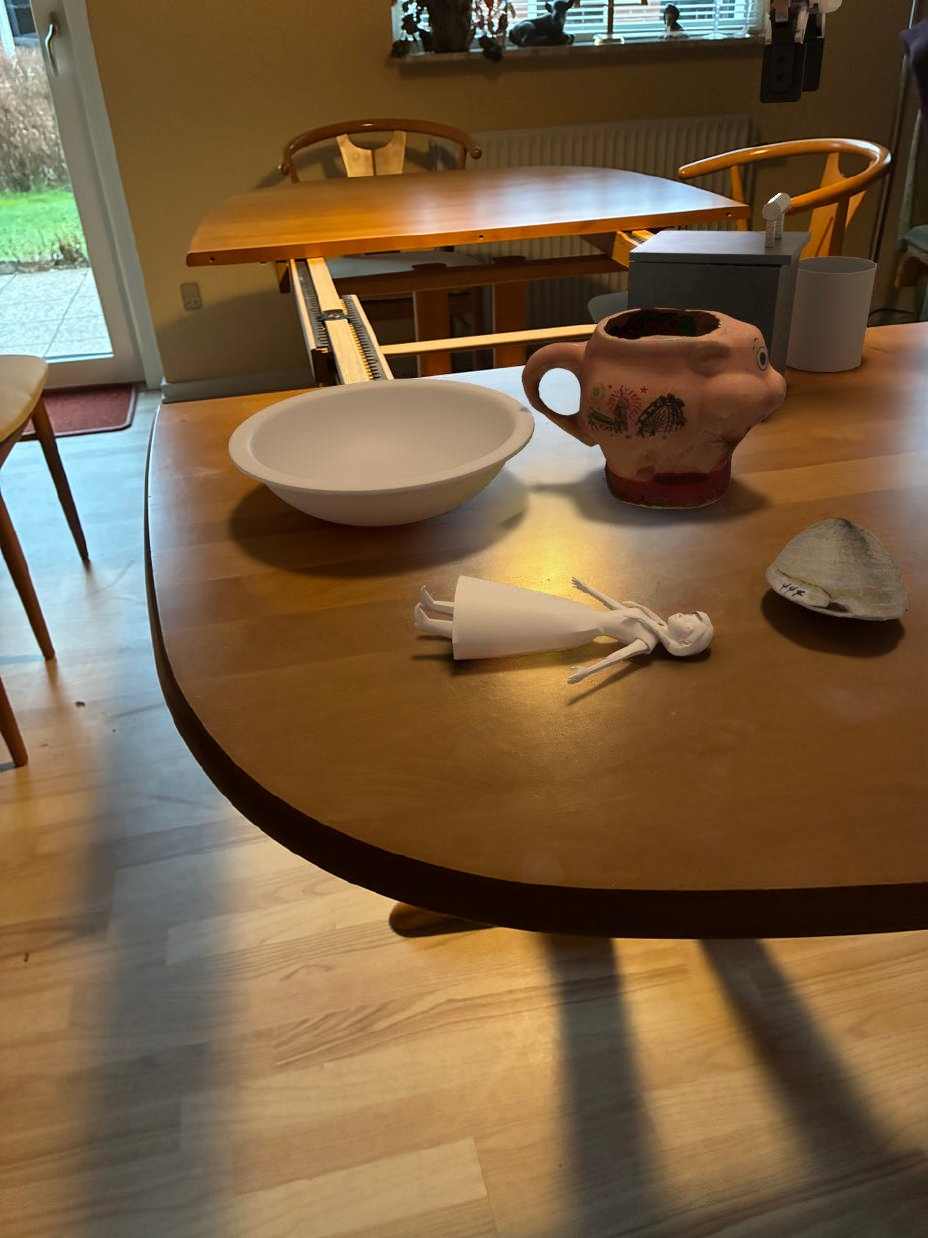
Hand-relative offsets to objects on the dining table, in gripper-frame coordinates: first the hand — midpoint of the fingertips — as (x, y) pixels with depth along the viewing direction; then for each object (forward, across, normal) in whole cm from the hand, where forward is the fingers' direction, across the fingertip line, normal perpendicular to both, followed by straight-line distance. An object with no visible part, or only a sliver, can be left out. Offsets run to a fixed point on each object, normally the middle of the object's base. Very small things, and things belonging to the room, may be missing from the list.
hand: (790, 96), depth 80 cm
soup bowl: (+26, -34, +23) cm, 49 cm away
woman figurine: (+26, -49, +3) cm, 55 cm away
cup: (+27, +14, -4) cm, 31 cm away
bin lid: (+12, -1, +5) cm, 13 cm away
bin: (+26, -1, +5) cm, 27 cm away
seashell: (+26, -38, -11) cm, 47 cm away
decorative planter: (+26, -25, +4) cm, 36 cm away
